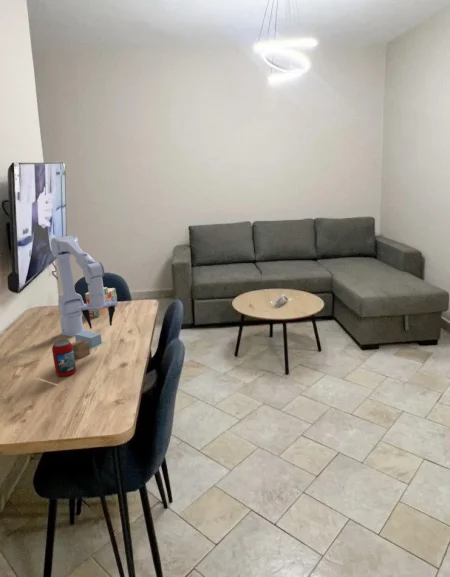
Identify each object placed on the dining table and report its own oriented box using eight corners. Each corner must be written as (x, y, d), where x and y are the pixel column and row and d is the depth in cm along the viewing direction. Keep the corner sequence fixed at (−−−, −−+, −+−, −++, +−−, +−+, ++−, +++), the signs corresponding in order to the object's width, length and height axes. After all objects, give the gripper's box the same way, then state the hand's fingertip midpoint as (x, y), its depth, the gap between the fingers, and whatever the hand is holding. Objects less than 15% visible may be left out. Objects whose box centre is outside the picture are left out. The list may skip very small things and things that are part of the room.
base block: (76, 343, 182) (74, 334, 180) (85, 339, 186) (84, 330, 184) (92, 347, 176) (91, 338, 175) (101, 343, 180) (100, 334, 179)
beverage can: (64, 379, 150) (59, 347, 147) (52, 375, 154) (47, 344, 150) (80, 372, 155) (75, 340, 152) (68, 368, 159) (63, 337, 156)
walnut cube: (71, 356, 168) (69, 344, 167) (81, 351, 172) (79, 340, 171) (79, 358, 166) (78, 346, 164) (90, 354, 170) (88, 342, 168)
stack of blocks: (107, 304, 237) (104, 282, 234) (117, 304, 236) (115, 282, 233) (87, 317, 217) (84, 293, 214) (99, 317, 216) (96, 293, 213)
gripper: (77, 298, 163) (82, 332, 167) (116, 293, 167) (120, 326, 171) (76, 294, 170) (81, 326, 173) (114, 289, 174) (118, 321, 177)
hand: (100, 326), depth 173 cm, fingers open, 7 cm apart
